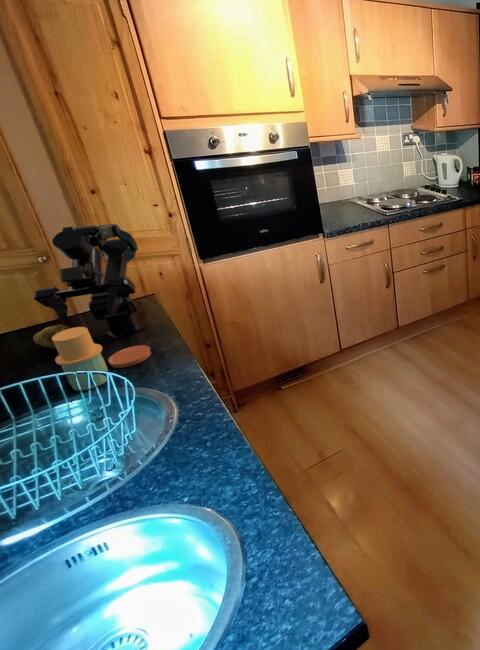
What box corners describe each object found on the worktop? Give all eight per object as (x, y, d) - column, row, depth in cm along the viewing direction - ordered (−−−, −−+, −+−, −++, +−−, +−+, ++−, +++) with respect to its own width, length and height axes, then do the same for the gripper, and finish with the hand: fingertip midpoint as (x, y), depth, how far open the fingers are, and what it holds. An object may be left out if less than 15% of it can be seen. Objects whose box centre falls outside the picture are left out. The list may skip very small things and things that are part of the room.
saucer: (103, 362, 122) (101, 358, 121) (140, 345, 129) (139, 342, 129) (120, 371, 118) (118, 367, 118) (158, 354, 125) (156, 350, 125)
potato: (75, 334, 134) (64, 311, 131) (84, 350, 127) (72, 326, 124) (36, 346, 129) (24, 322, 125) (43, 363, 121) (30, 338, 118)
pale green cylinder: (67, 385, 113) (54, 358, 110) (102, 369, 119) (90, 344, 115) (80, 394, 110) (67, 367, 106) (116, 377, 116) (104, 351, 112)
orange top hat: (51, 364, 110) (38, 337, 107) (94, 347, 117) (83, 321, 114) (68, 374, 106) (54, 347, 103) (111, 356, 113) (100, 329, 110)
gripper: (21, 259, 109) (18, 317, 104) (117, 247, 117) (119, 301, 112) (47, 279, 119) (46, 333, 113) (134, 266, 126) (137, 317, 121)
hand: (87, 321), depth 115 cm, fingers open, 9 cm apart
